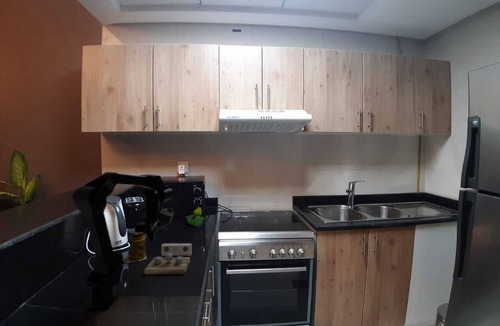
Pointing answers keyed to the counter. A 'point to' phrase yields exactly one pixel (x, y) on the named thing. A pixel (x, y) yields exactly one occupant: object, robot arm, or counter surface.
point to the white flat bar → (176, 249)
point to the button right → (179, 260)
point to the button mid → (168, 257)
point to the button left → (157, 260)
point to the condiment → (137, 248)
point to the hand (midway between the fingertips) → (152, 241)
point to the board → (168, 267)
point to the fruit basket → (196, 218)
